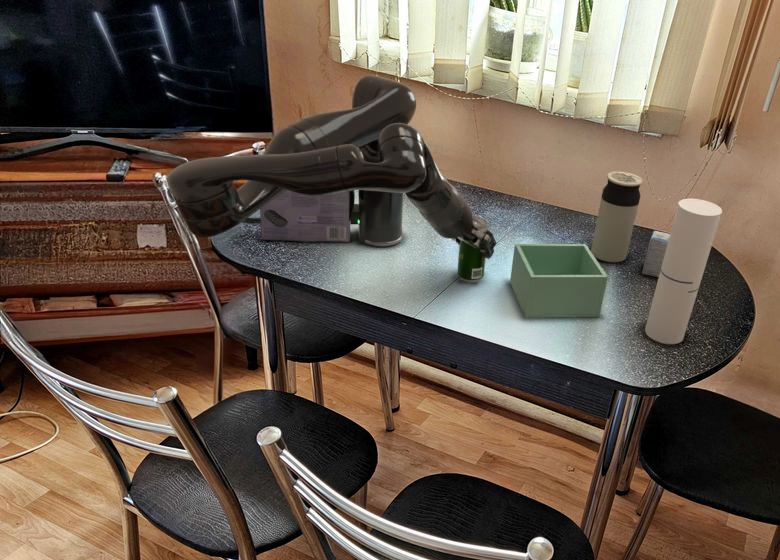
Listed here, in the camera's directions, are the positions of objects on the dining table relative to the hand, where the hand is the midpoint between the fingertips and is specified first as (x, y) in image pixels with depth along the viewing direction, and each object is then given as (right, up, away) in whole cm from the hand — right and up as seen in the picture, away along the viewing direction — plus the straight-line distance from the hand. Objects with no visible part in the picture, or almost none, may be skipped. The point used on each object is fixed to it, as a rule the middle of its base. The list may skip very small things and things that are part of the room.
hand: (478, 249), depth 136 cm
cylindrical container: (+35, -17, -9) cm, 40 cm away
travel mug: (+29, +1, +17) cm, 33 cm away
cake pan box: (-36, +4, +10) cm, 38 cm away
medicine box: (+39, -4, +11) cm, 41 cm away
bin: (+15, -10, -2) cm, 18 cm away
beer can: (-2, -6, +2) cm, 6 cm away
